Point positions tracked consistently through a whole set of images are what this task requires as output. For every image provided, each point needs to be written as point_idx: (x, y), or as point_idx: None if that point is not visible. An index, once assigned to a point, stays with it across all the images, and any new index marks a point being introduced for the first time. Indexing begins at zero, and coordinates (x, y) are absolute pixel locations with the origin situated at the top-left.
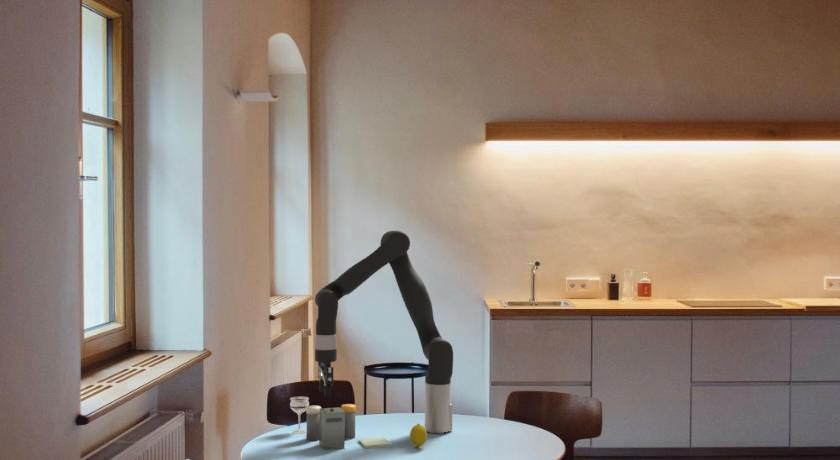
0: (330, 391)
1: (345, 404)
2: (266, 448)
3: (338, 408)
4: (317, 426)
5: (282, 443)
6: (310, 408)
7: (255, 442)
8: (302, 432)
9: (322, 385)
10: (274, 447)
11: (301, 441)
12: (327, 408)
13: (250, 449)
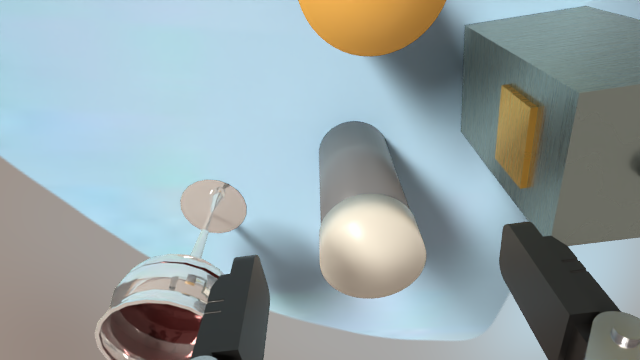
0: (584, 269)
1: (311, 6)
2: (451, 304)
3: (622, 111)
4: (395, 171)
5: None
6: (413, 279)
7: (360, 332)
8: (232, 196)
9: (256, 338)
10: (446, 284)
11: None
12: (572, 197)
13: (447, 340)
